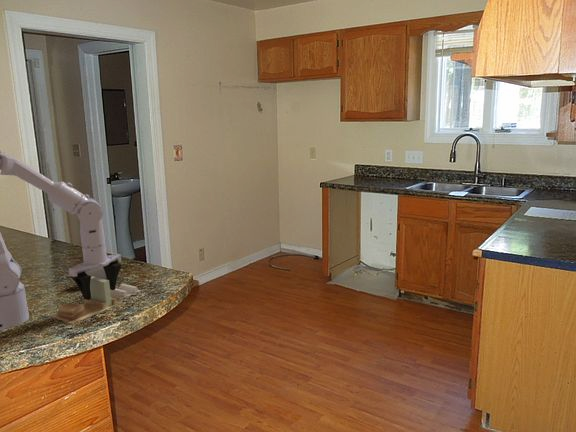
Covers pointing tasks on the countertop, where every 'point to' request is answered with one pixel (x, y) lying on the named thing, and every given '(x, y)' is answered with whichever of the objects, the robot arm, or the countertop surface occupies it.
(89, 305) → the rack
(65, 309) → the offcut top
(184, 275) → the countertop surface
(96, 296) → the pale green square slab
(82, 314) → the offcut low
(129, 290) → the stand
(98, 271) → the ceramic mug
